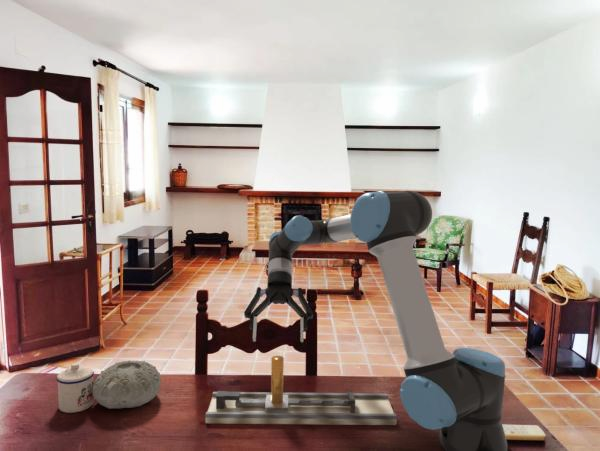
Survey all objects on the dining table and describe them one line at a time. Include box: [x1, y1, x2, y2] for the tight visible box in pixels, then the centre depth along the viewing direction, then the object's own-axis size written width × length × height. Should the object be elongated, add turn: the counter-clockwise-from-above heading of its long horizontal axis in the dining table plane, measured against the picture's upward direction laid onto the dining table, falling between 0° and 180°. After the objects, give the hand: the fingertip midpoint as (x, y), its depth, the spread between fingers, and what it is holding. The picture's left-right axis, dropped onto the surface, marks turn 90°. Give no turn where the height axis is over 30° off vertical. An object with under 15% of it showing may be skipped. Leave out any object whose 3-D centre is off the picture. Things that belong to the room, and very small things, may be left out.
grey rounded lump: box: [92, 360, 162, 410], centre depth 130 cm, size 18×18×10 cm
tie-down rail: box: [205, 390, 398, 426], centre depth 126 cm, size 49×12×5 cm, turn 91°
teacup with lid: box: [55, 362, 95, 414], centre depth 128 cm, size 12×9×12 cm
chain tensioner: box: [235, 355, 350, 412], centre depth 125 cm, size 32×7×13 cm, turn 91°
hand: (278, 340), depth 134 cm, fingers open, 13 cm apart
